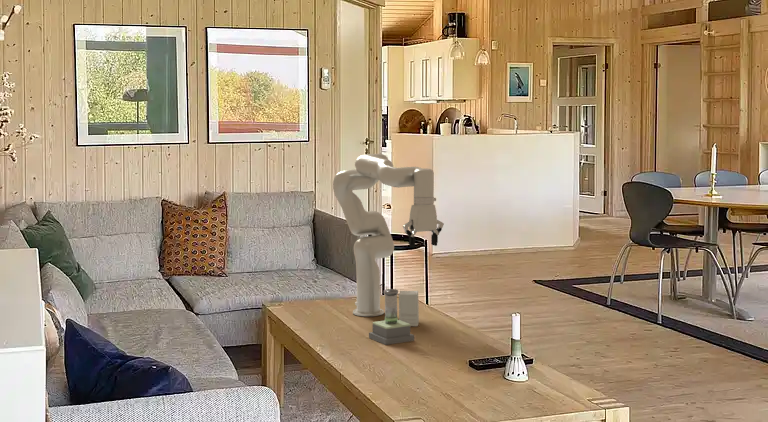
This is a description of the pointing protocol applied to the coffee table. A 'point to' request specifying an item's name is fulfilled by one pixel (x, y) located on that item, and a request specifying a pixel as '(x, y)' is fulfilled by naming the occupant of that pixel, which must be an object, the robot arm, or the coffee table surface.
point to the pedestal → (391, 332)
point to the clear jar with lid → (391, 306)
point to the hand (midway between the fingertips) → (423, 246)
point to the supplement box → (409, 307)
